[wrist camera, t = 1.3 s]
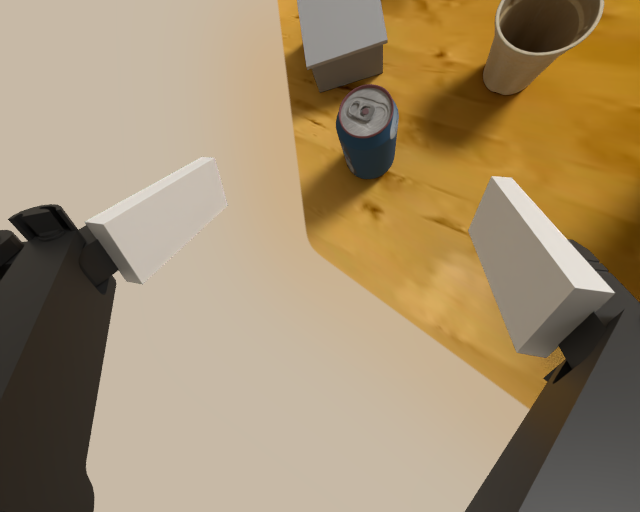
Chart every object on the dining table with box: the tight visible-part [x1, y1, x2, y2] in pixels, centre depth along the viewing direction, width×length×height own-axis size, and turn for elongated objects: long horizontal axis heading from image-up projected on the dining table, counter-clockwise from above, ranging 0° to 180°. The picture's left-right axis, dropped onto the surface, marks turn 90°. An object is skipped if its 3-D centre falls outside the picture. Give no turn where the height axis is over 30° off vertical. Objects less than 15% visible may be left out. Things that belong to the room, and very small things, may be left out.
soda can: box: [336, 84, 399, 179], centre depth 32 cm, size 7×7×12 cm
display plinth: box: [297, 0, 387, 92], centre depth 37 cm, size 11×11×6 cm
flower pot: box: [483, 0, 604, 95], centre depth 30 cm, size 9×9×9 cm
